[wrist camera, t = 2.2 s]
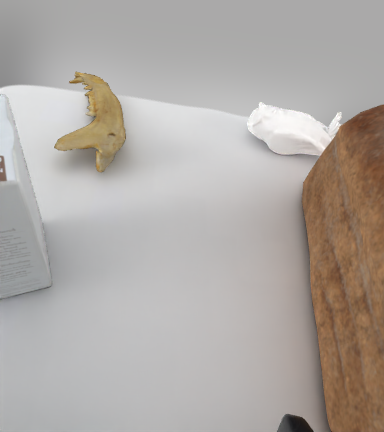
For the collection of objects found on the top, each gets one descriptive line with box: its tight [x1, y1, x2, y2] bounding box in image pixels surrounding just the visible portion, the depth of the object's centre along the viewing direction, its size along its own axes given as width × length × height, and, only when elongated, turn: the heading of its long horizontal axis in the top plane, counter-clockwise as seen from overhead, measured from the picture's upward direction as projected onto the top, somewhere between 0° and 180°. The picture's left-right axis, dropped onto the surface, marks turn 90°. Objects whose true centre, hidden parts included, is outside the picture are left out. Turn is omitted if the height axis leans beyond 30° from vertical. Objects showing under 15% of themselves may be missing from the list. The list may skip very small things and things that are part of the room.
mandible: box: [54, 72, 126, 172], centre depth 33 cm, size 6×17×3 cm, turn 6°
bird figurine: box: [247, 102, 341, 156], centre depth 36 cm, size 5×7×10 cm
